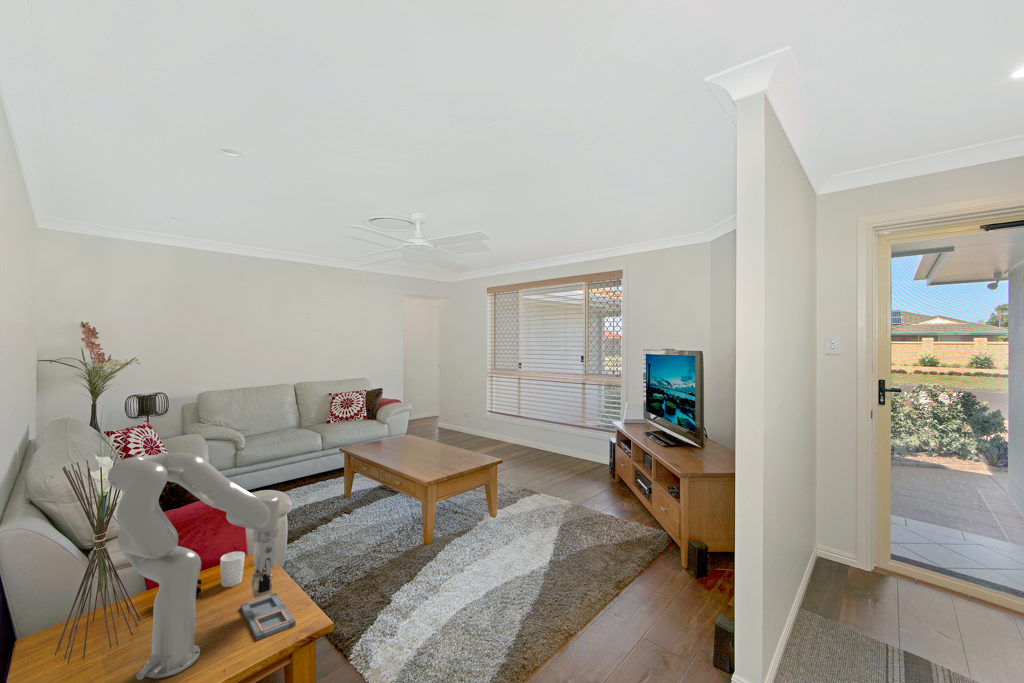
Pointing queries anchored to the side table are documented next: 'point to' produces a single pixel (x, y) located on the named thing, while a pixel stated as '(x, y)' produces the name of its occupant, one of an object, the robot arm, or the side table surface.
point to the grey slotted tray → (267, 616)
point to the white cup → (232, 568)
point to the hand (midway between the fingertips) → (261, 587)
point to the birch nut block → (256, 585)
